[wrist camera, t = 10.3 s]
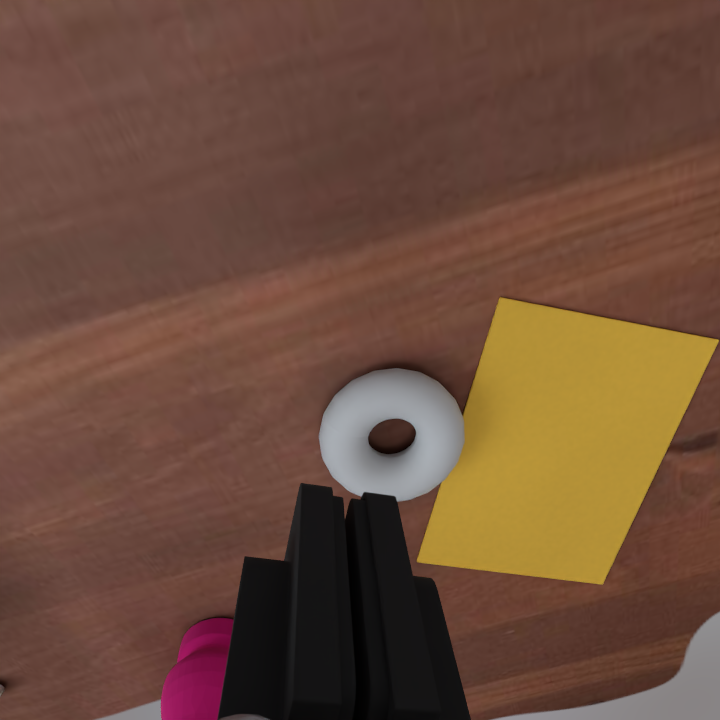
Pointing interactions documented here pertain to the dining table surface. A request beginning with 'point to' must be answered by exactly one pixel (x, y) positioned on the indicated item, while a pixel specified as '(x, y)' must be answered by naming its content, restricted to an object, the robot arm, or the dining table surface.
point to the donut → (389, 401)
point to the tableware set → (1, 689)
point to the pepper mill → (198, 672)
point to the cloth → (561, 441)
